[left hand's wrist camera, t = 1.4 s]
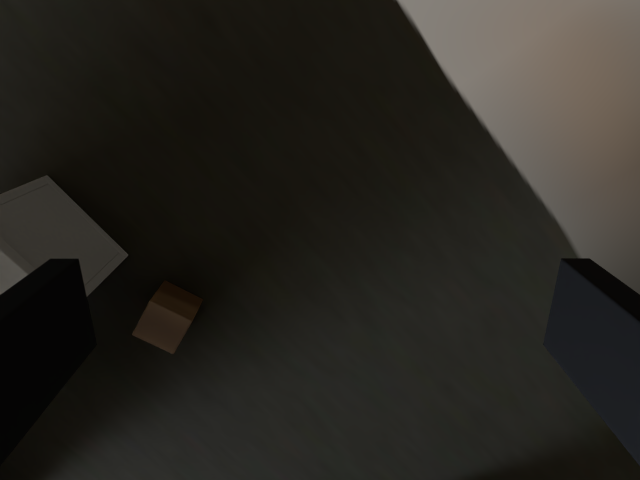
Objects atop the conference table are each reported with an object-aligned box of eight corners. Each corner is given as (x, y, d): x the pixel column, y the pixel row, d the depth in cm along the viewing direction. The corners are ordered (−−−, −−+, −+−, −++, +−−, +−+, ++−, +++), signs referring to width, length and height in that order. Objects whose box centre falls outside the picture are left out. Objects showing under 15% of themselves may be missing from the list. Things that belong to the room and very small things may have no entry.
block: (164, 279, 43) (149, 300, 40) (203, 299, 44) (192, 321, 40) (147, 311, 45) (131, 335, 41) (185, 330, 45) (173, 354, 42)
